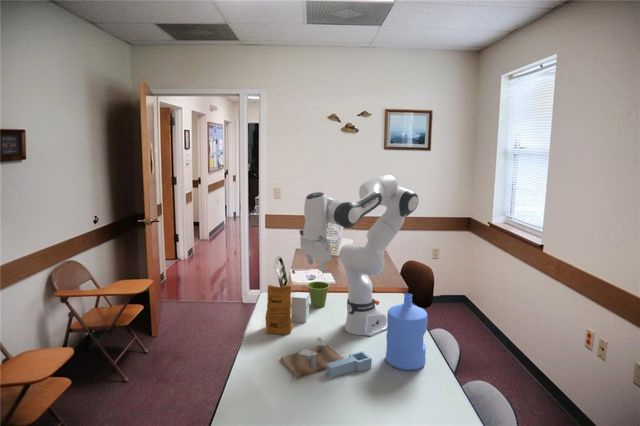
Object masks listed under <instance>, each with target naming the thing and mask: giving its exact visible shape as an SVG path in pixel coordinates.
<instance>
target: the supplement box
mask: <svg viewBox="0 0 640 426" xmlns="http://www.w3.org/2000/svg"><path fill="white" fill-rule="evenodd" d="M309 317H310V293H308V292H298V291H297V292H294V293H293V294H292V296H291V322H292V323H303V324H306V323H307V320H308V318H309Z"/></svg>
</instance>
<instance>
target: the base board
mask: <svg viewBox="0 0 640 426" xmlns="http://www.w3.org/2000/svg"><path fill="white" fill-rule="evenodd" d="M308 350H311V351H314V352H317V347H314V348H310V349H308ZM300 352H301V351H299V352H296V353H291V354H287V355H284V356H280V358H279V359H280V361H281V362H282V363H284V364H285V365H284V364H283V365H284V366H285V368H287V370H288V371H289V372H290V371H291V372H290V373H291V374H292V375H293V376H294V377H295V378H296V379H299V378H303V377H306V376H310V375H312V374H315V373H316V374H317V373H319V372H323V371H326V364H327V363H330V362H334V361H337V360H341V359H344V358H345V357H343V356H342V355H340V354H339V352H337V351H336V350H335V349H334V348H332V347H331V345H329V344H324V345H322V352H321V353H318V352H317V369H311V358H310V359H307V358H303V357H299V353H300Z"/></svg>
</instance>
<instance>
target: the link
mask: <svg viewBox="0 0 640 426" xmlns="http://www.w3.org/2000/svg"><path fill="white" fill-rule="evenodd" d="M343 358H344V359H341V360H337V361H334V362H330V363H327V364H326V370H325V371H326V374H327V376H329V377H330V379H332V378H335V377H339V376H341V375H343V374H344V375H345V374H347V373H351V372H355V371H356V372H357V373H359V372H362V371H365V370H369V369H372V366H373V365H372V363H373V362H372V361H373V359H372V357H371V356H370V355H368V354H367V353H366V352H364V351H363V350H361V351H357V352H354V353H351V354H348V357H343Z"/></svg>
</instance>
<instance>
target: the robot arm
mask: <svg viewBox="0 0 640 426" xmlns="http://www.w3.org/2000/svg"><path fill="white" fill-rule="evenodd" d="M358 195H359V198H360V199H358V200H356V201H354V202H352V201H344V200H338V199H335V198H331V197H329V196H327V195H326V194H325V193H324V192H318V191H317V192H312V193H309V194H307V196H306V197H305V201H304V208H303V209H304V211H303V216H304V219H305V220H304V222H305V223H304V225H303V228H302V229H299V232H298V233H299V235H300V237H299V238H300V240H299V241H300V243H299V244H300V249H301V252H304V253H305V255H306V260H307V264H308V265H309V266H310V265H313V264H314V260H313V258H314V259H316V260H318V262H319V263H318V264H319V265H318V268H317V269H318V271H320V272H323V271H324V269H325V265H326V263H330V262H331V261H332V247H331V243H330V242H329V241H328V238H327V235H328V234H327V232H328V231H327V230H328V229H327V226H328V225H327V224H328V223H329V224H330V223H331V224H333V225H337V226H339V227H342V228H345V229H350V228H352V227H354V226H355V225H356V224H357V223H358V222H359V221H360V220H361V219H362V218H363V217H364V216H366V215H368V214H369V213H371V212H372V211H373V210H375V209H376V208H377V207H379V206H384V207H385V208H386V209H385V212H383V214H382V215H381V216H379V218H378V219H376V221H375V222H374V223H373V225H371V227H370V229H369V230H368V231H367V232H366V238H367V242H366V245H365V246H361V245H357V244H354V243H353V244H349V243H348V244H344V245H343V246H342V247H341V248H340V250H339V252H338V259H339V262H341V265H342V266H343V269H344V271H345V275H346V279H347V291H348V292H347V300H346V301H347V302H346V309H347V314H346V319H345V320H346V321H345V324H344V326H343V328H344V330H345V331H347V333H350V334H352V335H359V336H366V337H372V336H373V337H374V336H375V335H377V334H378V335H379V334H380V333H382V332H384V331H387V315H386V313H385V312H384V311H383V310H382V309H380V308H379V307H377V306H379V304H380V301H379V300H378V299H374V298H373V282H372V280H371V279H370V277H369V276H373V277H375V276H379V275H380V274H381V273H382V272H383V271H384V269H385V264H386V262H385V258H384V257H385V252H386V249H387V248H388V247H389V245H390V243H391V242H392V240H394V238H395V237H396V236H397V234H398V233H399V231H400V230H401V228H402V226H403V224H404V222H405V220H406V219H405V218H406V217H408V216H409V215H410V214H411V215H412V213H413V212H414V211H416V209H417V207H418V205H419V195H418V194H417V193H416V192H414V191H413V190H411V189H407V188H405V187H402V186H399V185H398V181H397V179H396V178H395V177H394V176H393V175H390V174H383V175H378V176H375V177H373V178H370V179H368V180H366V181H365V182H363V183H362V184H361V185H360V187H359V191H358Z"/></svg>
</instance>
